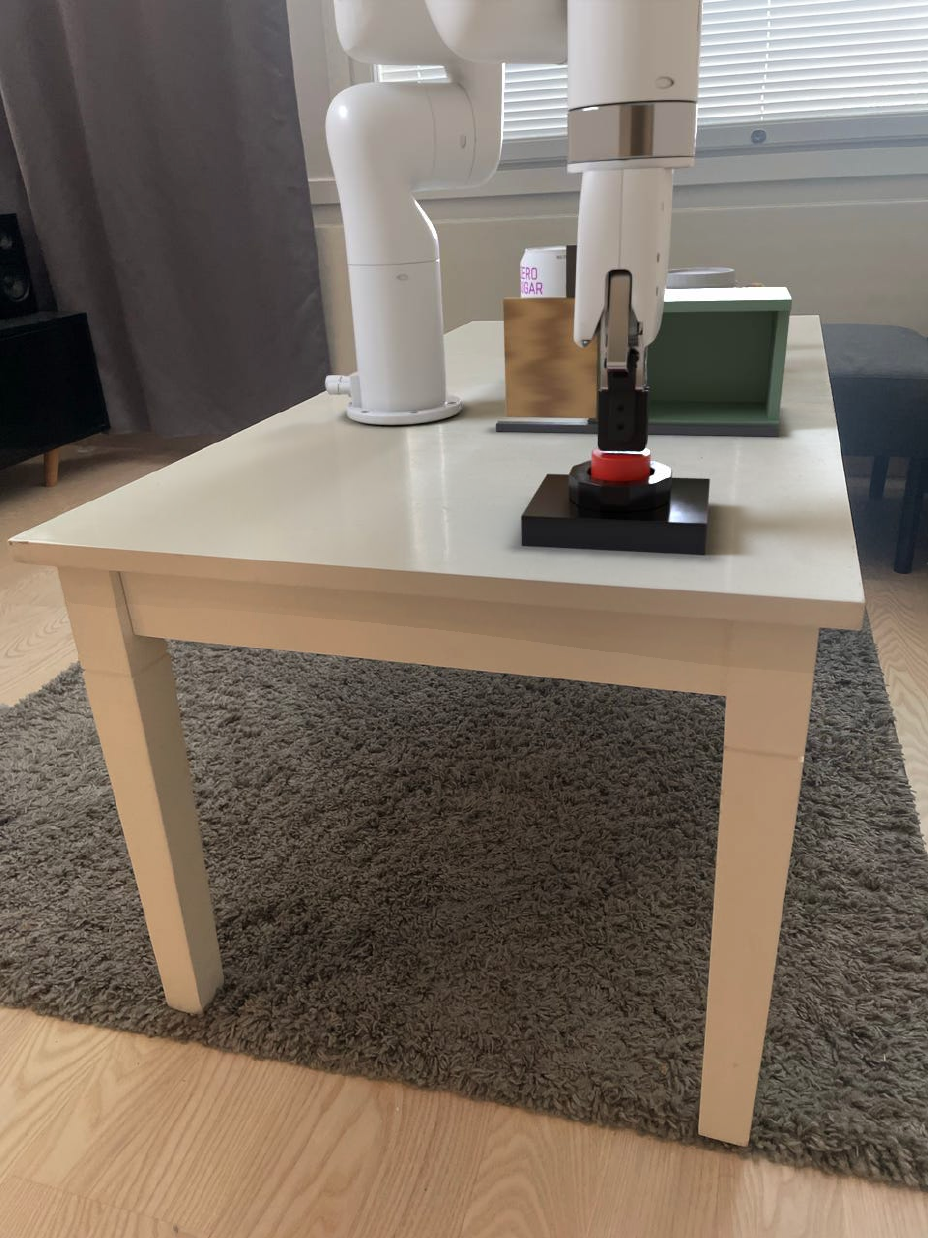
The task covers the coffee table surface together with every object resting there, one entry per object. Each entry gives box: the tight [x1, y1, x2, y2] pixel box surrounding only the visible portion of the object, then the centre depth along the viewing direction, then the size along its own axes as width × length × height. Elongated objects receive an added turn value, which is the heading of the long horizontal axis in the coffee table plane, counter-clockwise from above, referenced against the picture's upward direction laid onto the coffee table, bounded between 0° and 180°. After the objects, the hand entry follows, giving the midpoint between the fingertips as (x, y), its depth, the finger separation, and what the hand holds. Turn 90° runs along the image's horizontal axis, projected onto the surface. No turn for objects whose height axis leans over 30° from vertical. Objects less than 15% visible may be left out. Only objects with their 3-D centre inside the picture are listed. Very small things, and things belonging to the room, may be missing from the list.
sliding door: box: [502, 243, 599, 419], centre depth 86 cm, size 9×1×16 cm, turn 75°
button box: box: [520, 459, 711, 556], centre depth 63 cm, size 12×10×4 cm
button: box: [590, 447, 652, 481], centre depth 62 cm, size 4×4×2 cm
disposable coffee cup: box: [666, 267, 739, 290], centre depth 112 cm, size 10×10×12 cm
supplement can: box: [519, 245, 566, 297], centre depth 117 cm, size 8×8×15 cm
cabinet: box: [495, 286, 793, 438], centre depth 90 cm, size 27×11×12 cm, turn 75°
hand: (622, 447), depth 62 cm, fingers closed
